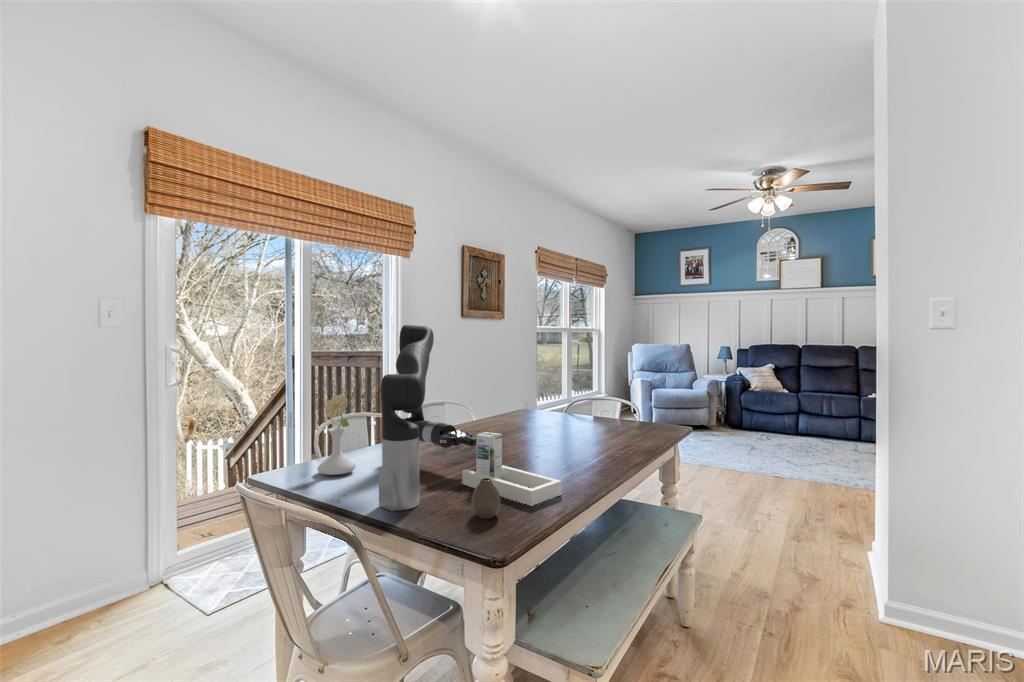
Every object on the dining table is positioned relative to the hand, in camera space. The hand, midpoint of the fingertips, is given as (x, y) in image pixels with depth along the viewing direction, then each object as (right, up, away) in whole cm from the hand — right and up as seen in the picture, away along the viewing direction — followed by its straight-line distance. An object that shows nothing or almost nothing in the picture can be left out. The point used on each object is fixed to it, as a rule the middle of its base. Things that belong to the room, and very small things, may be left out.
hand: (475, 442), depth 148 cm
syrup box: (+4, -11, -4) cm, 13 cm away
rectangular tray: (+11, -11, -10) cm, 18 cm away
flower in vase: (-43, -11, +6) cm, 45 cm away
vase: (+5, -12, -30) cm, 32 cm away
